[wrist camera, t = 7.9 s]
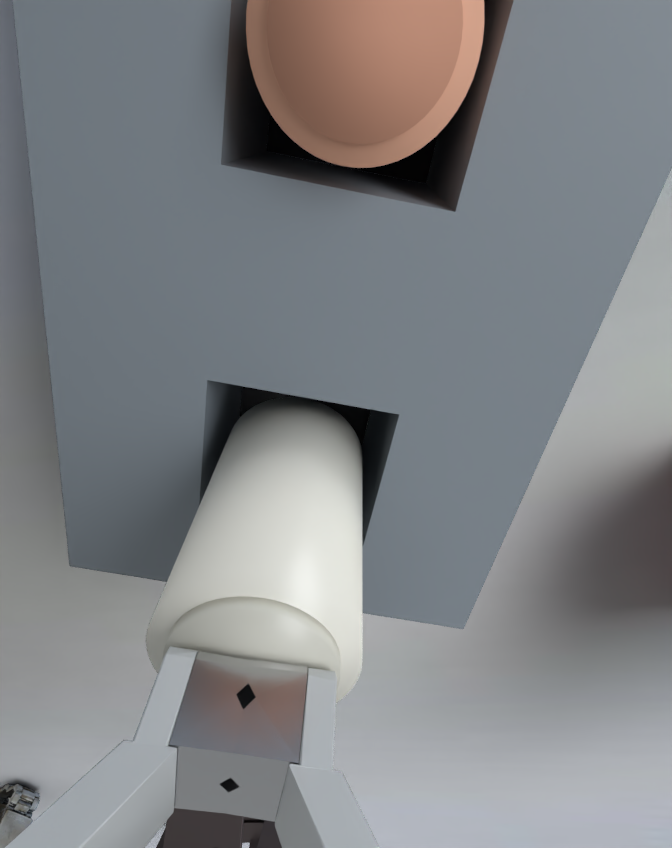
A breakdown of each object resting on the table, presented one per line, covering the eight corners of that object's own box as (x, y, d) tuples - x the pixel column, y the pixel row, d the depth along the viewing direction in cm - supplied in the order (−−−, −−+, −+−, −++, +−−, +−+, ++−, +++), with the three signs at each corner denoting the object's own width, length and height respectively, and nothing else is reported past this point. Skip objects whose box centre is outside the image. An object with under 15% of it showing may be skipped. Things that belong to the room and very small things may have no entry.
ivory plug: (232, 385, 14) (139, 575, 8) (375, 411, 15) (385, 614, 9) (222, 499, 16) (140, 719, 10) (348, 520, 17) (340, 748, 11)
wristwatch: (10, 762, 37) (-44, 838, 35) (17, 802, 33) (-44, 891, 31) (48, 775, 39) (-2, 850, 37) (60, 816, 35) (4, 902, 33)
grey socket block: (131, -243, 12) (-40, -514, 7) (665, -115, 13) (872, -276, 8) (138, 461, 22) (69, 566, 17) (440, 513, 23) (463, 629, 18)
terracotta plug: (303, -38, 14) (255, -167, 8) (453, -4, 14) (525, -103, 8) (283, 136, 16) (232, 145, 10) (415, 163, 16) (448, 188, 10)
